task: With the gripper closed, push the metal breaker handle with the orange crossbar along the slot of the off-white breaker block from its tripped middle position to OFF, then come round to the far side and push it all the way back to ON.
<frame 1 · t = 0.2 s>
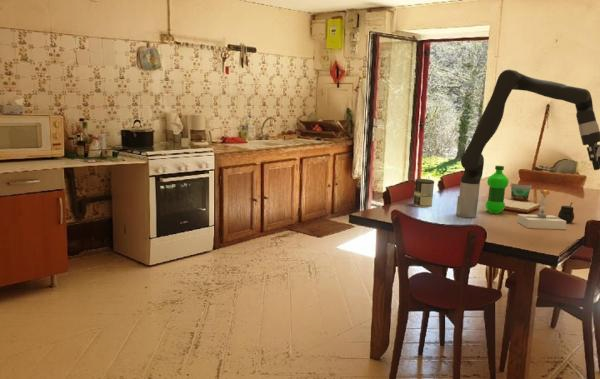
hand: (599, 169, 225), 31 cm above the table, tool tilted 20°, fingers open, 8 cm apart
plastic bottle: (494, 212, 277), on the table
breaker handle: (543, 203, 249), point 11 cm above the table, slide at 5.0 cm
mate gourd: (565, 222, 262), on the table
coffee can: (422, 205, 287), on the table
food container: (520, 200, 316), on the table
breaker block: (540, 225, 251), on the table
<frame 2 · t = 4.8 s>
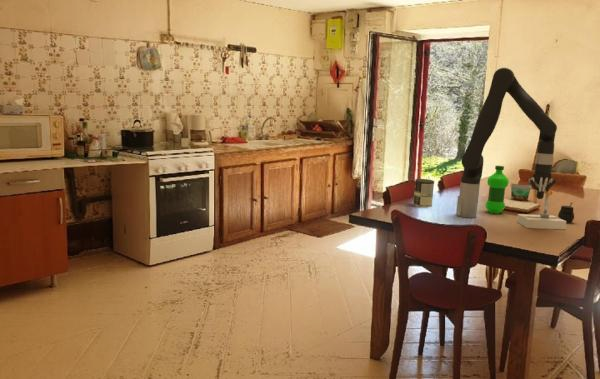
hand: (539, 198, 248), 13 cm above the table, tool pointing down, fingers closed
breaker handle: (546, 203, 249), point 11 cm above the table, slide at 6.4 cm, touching gripper
everything else where it was.
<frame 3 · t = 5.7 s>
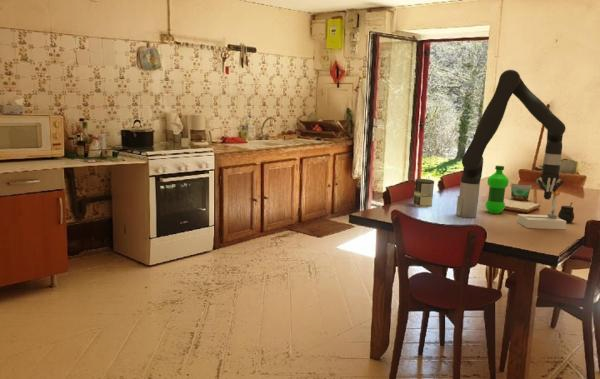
hand: (547, 199, 248), 13 cm above the table, tool pointing down, fingers closed
breaker handle: (553, 203, 249), point 11 cm above the table, slide at 10.1 cm, touching gripper
everything else where it was.
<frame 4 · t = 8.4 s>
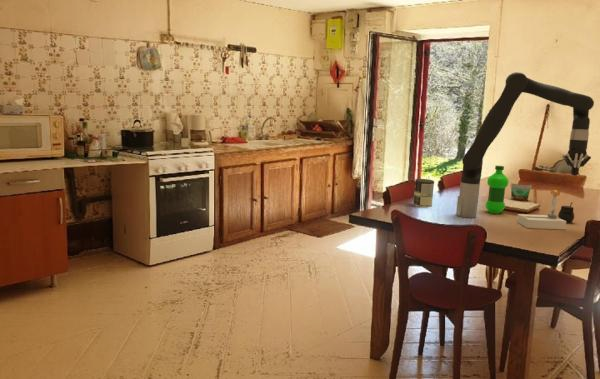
hand: (574, 175, 246), 25 cm above the table, tool pointing down, fingers closed
breaker handle: (553, 203, 249), point 11 cm above the table, slide at 10.0 cm
everything else where it was.
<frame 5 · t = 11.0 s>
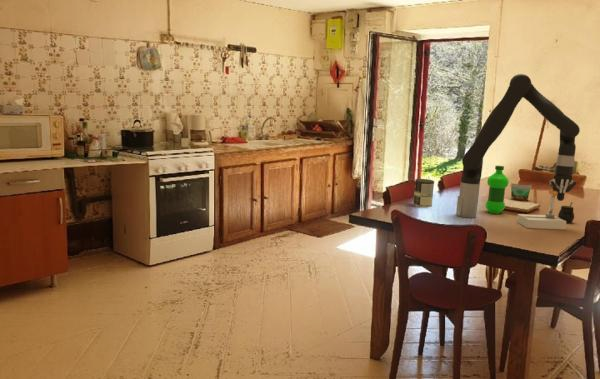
hand: (559, 200, 249), 13 cm above the table, tool pointing down, fingers closed
breaker handle: (551, 203, 249), point 11 cm above the table, slide at 9.1 cm, touching gripper
everything else where it was.
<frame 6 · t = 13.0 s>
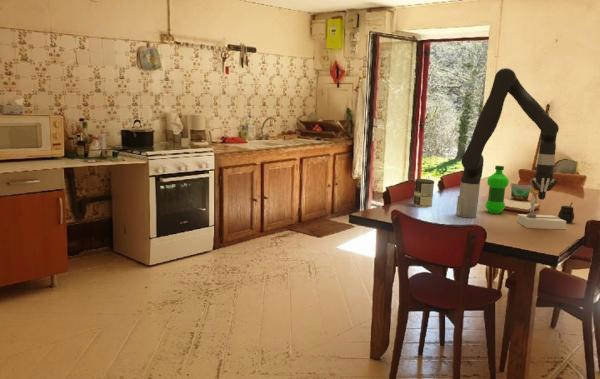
hand: (541, 199, 248), 13 cm above the table, tool pointing down, fingers closed
breaker handle: (533, 203, 249), point 11 cm above the table, slide at 0.0 cm, touching gripper
everything else where it was.
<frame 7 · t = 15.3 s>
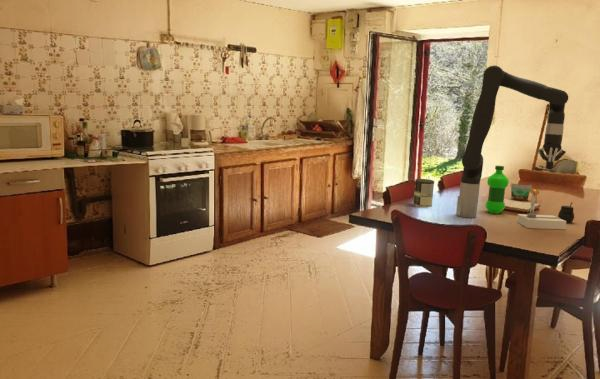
hand: (548, 169, 248), 27 cm above the table, tool pointing down, fingers closed
breaker handle: (533, 203, 249), point 11 cm above the table, slide at 0.0 cm
everything else where it was.
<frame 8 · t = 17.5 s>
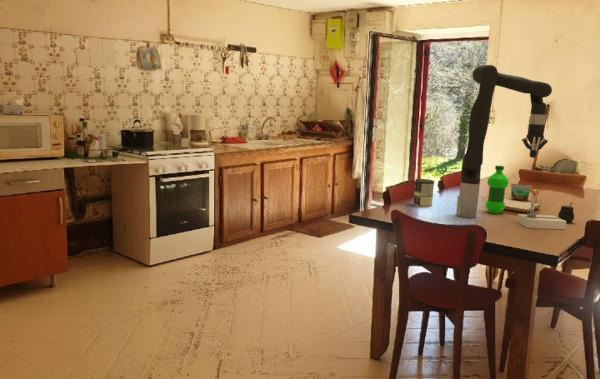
hand: (532, 157, 264), 31 cm above the table, tool pointing down, fingers closed
nothing on the table moved.
at the end: breaker handle slide at 0.0 cm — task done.
